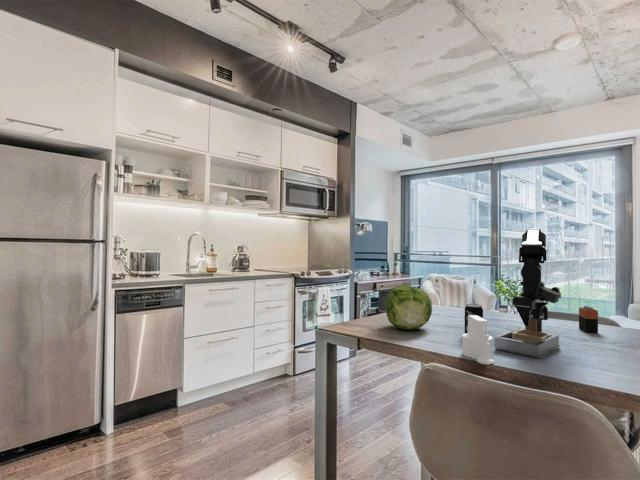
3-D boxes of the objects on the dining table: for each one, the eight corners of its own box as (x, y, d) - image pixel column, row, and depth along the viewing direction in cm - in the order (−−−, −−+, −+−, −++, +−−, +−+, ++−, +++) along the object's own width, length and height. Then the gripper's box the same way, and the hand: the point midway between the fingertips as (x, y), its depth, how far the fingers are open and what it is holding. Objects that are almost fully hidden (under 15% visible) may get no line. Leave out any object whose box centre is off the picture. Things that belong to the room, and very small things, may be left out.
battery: (586, 332, 150) (586, 307, 150) (578, 329, 157) (578, 305, 157) (598, 333, 149) (598, 308, 149) (590, 329, 156) (590, 305, 156)
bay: (516, 339, 140) (516, 327, 140) (559, 347, 129) (559, 335, 129) (493, 349, 127) (493, 336, 127) (539, 359, 117) (539, 345, 117)
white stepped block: (458, 350, 126) (458, 314, 126) (485, 351, 126) (485, 315, 126) (468, 359, 117) (468, 320, 117) (497, 359, 117) (497, 321, 117)
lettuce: (386, 336, 146) (394, 292, 144) (380, 316, 169) (387, 277, 167) (436, 344, 146) (444, 299, 143) (423, 322, 169) (430, 284, 166)
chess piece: (473, 359, 117) (473, 327, 117) (489, 359, 117) (489, 327, 117) (481, 364, 112) (482, 331, 112) (497, 364, 112) (497, 331, 112)
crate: (521, 338, 138) (521, 315, 138) (551, 343, 130) (551, 319, 130) (512, 342, 132) (512, 318, 132) (543, 348, 125) (543, 322, 125)
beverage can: (484, 338, 141) (484, 306, 141) (466, 337, 142) (466, 306, 142) (480, 334, 147) (481, 304, 147) (463, 333, 149) (463, 303, 149)
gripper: (548, 283, 119) (548, 332, 119) (566, 279, 131) (566, 323, 131) (511, 280, 127) (511, 326, 127) (532, 276, 140) (532, 318, 140)
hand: (531, 323), depth 131 cm, fingers open, 9 cm apart
